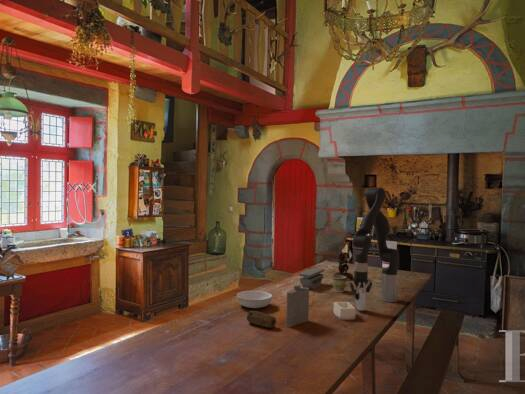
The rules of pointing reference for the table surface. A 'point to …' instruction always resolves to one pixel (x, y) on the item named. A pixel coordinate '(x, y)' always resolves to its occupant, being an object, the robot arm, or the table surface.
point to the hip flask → (297, 306)
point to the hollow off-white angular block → (344, 310)
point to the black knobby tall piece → (343, 267)
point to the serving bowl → (254, 298)
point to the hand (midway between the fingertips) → (360, 299)
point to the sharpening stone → (311, 278)
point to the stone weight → (261, 319)
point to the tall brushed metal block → (360, 300)
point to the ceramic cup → (339, 283)
